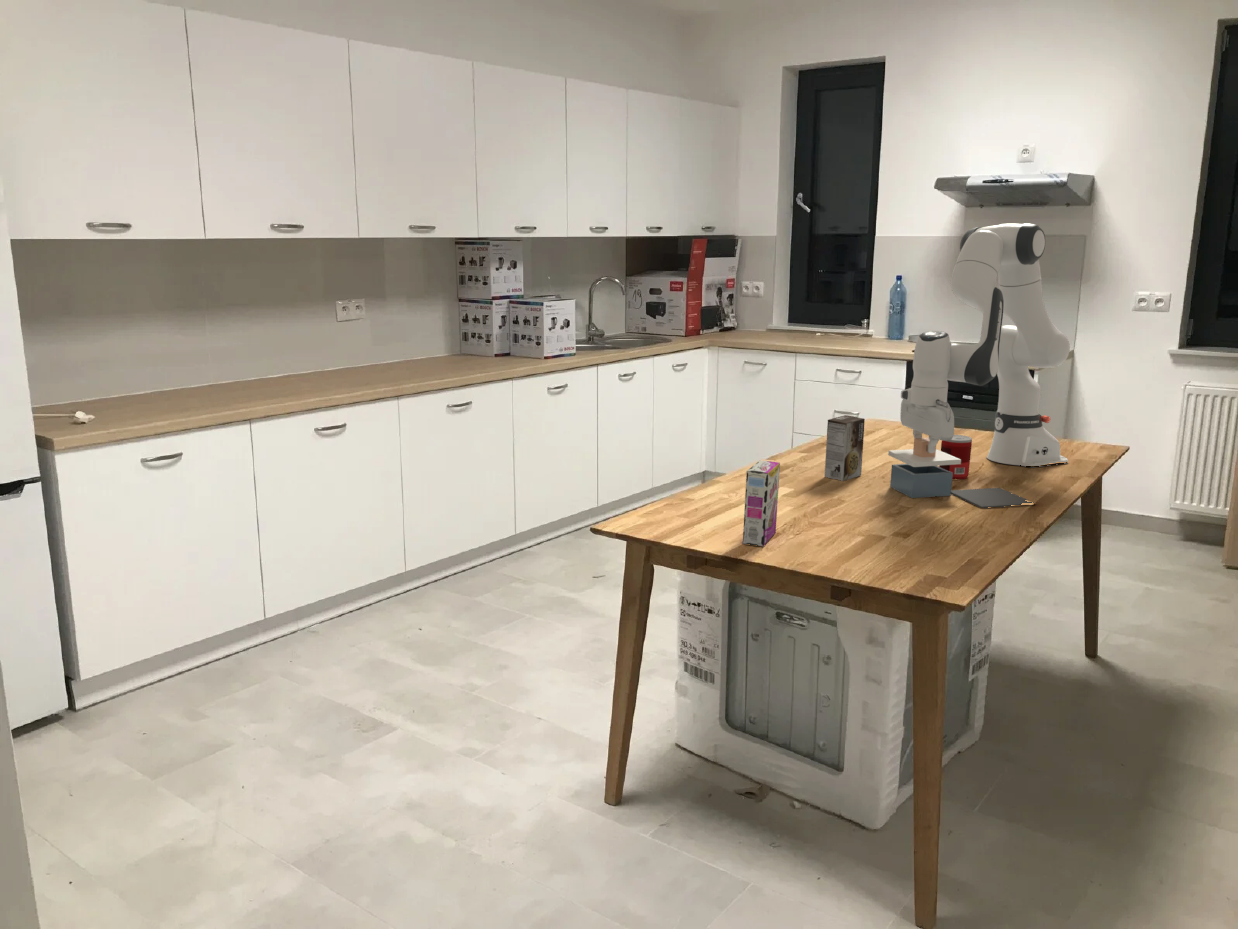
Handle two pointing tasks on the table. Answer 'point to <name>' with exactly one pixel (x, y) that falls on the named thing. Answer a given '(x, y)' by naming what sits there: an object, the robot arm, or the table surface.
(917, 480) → the open box
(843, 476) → the coffee box
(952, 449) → the canned food
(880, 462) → the table surface
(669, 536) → the table surface
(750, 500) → the candy bar box
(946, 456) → the lid
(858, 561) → the table surface
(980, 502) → the mat
